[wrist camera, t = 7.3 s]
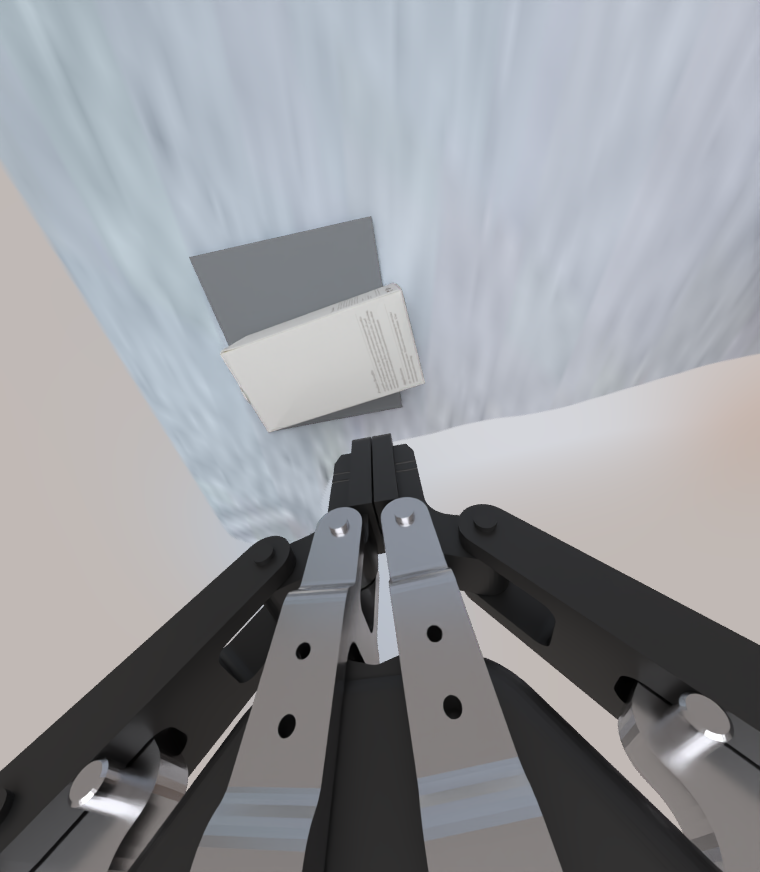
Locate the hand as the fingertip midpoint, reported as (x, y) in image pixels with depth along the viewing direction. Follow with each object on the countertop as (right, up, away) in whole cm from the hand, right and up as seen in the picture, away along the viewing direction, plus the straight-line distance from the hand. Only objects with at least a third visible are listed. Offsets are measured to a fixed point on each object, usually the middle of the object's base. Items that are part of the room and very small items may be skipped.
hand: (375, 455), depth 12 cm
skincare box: (+3, +10, +15) cm, 18 cm away
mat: (-7, +11, +19) cm, 23 cm away
